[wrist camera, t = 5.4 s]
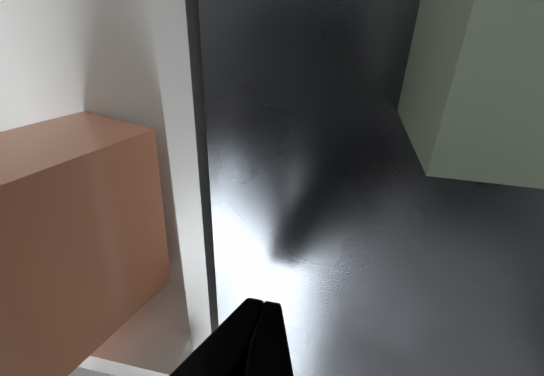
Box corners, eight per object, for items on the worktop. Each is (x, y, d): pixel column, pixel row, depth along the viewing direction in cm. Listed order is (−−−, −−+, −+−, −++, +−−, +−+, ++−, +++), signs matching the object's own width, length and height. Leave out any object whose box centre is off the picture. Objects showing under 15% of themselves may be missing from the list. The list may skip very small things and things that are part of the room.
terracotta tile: (-1, 438, 8) (-69, 380, 9) (170, 280, 13) (113, 254, 14) (-129, 232, 5) (-206, 183, 6) (154, 128, 10) (83, 111, 11)
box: (234, 303, 14) (196, 395, 11) (16, 261, 16) (-75, 329, 13) (214, -340, 6) (50, -756, 3) (-209, -277, 8) (-613, -483, 5)
